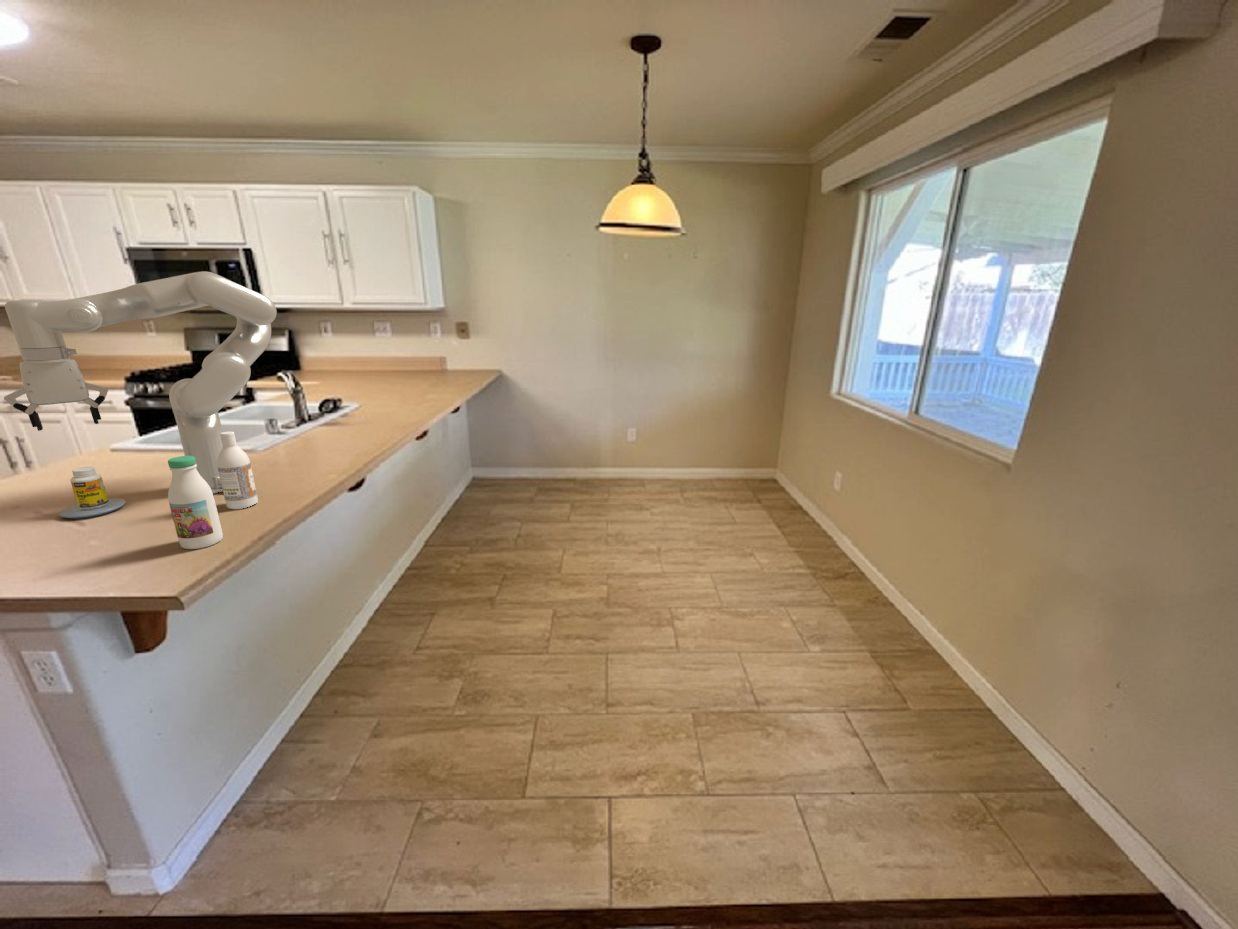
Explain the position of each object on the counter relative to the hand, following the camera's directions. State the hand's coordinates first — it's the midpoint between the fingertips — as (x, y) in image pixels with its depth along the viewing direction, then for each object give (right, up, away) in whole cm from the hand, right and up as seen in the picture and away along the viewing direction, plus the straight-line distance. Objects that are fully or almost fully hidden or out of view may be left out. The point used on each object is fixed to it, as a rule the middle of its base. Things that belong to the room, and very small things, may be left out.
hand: (69, 426), depth 126 cm
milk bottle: (+41, -27, -10) cm, 50 cm away
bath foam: (+34, -20, +12) cm, 41 cm away
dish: (0, -21, +6) cm, 22 cm away
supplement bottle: (0, -20, +6) cm, 21 cm away
